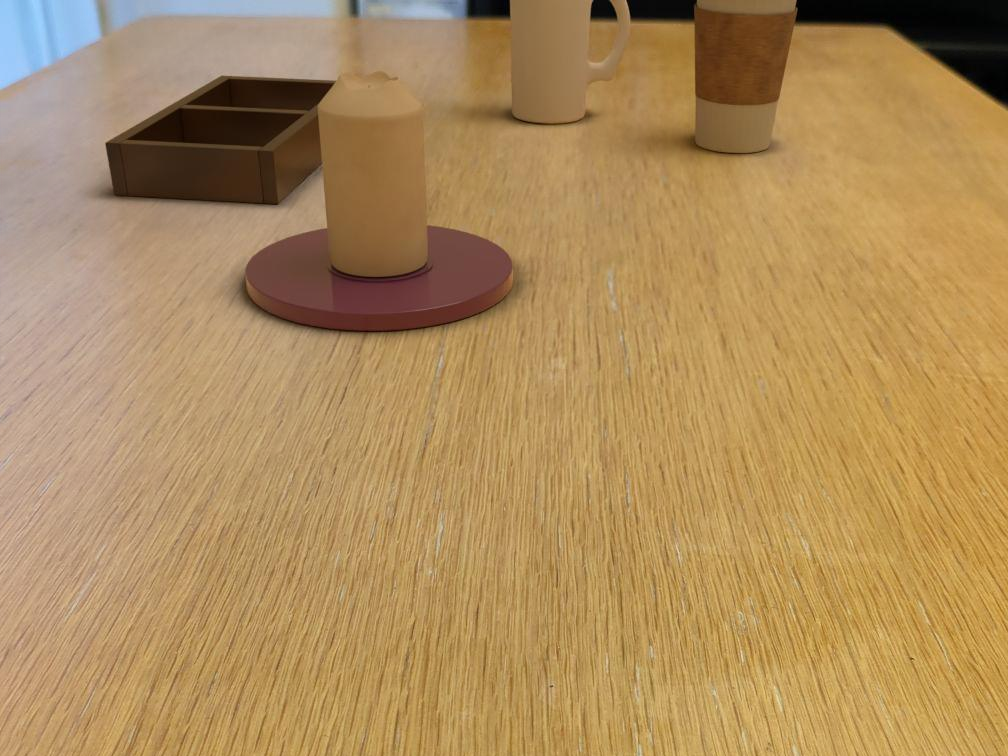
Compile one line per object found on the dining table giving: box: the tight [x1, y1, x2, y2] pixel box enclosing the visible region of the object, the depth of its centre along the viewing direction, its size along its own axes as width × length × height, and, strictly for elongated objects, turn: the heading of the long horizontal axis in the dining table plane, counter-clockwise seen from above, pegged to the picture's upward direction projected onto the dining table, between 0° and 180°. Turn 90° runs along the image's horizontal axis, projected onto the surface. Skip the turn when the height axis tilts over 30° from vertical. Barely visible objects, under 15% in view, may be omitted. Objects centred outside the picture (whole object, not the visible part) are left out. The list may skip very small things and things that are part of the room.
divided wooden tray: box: [104, 75, 337, 205], centre depth 90 cm, size 12×22×4 cm, turn 173°
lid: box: [244, 224, 514, 332], centre depth 69 cm, size 15×15×1 cm
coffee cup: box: [693, 0, 798, 154], centre depth 92 cm, size 8×8×15 cm
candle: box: [318, 70, 428, 277], centre depth 66 cm, size 6×6×10 cm
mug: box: [509, 0, 631, 125], centre depth 100 cm, size 10×7×12 cm, turn 95°
